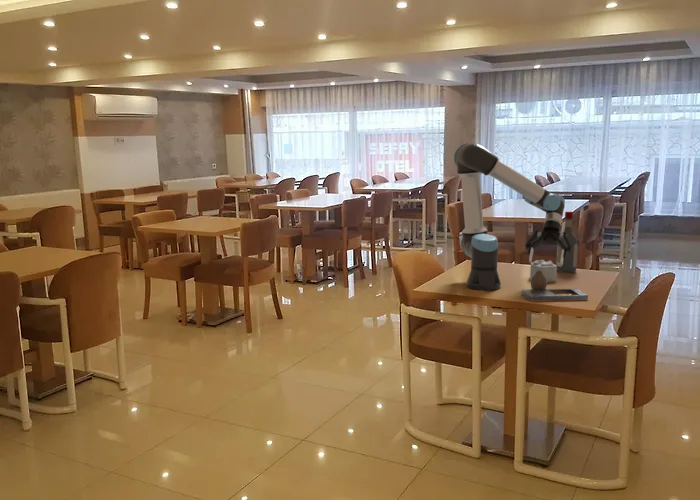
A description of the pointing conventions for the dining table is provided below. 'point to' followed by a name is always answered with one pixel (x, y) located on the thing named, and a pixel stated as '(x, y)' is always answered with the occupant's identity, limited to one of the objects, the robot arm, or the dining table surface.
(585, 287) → the dining table surface
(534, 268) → the lumpy-topped squat cylinder
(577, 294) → the grey slab with opening
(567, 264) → the liquor
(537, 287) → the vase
